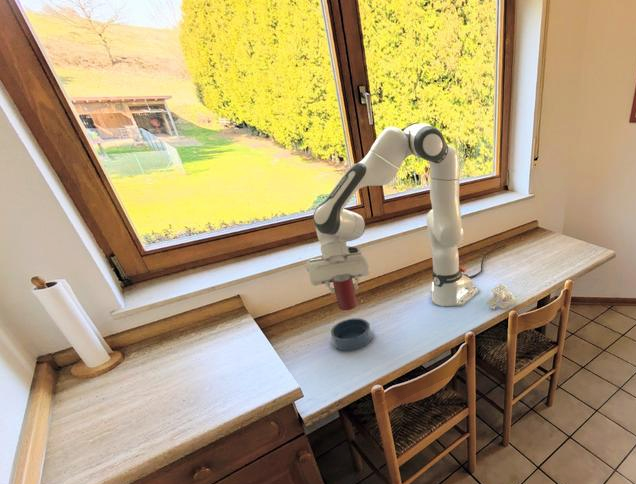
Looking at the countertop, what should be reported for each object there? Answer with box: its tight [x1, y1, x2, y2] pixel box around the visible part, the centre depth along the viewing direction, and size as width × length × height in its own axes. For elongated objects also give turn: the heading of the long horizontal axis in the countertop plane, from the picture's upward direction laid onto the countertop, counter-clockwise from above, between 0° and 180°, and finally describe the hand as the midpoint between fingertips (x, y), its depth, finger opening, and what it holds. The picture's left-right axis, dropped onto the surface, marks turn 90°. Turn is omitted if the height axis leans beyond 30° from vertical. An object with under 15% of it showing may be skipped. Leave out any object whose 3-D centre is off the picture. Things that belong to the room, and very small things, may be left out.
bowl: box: [330, 318, 373, 352], centre depth 133 cm, size 14×14×6 cm
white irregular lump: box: [485, 283, 518, 310], centre depth 155 cm, size 12×9×10 cm
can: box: [332, 274, 358, 311], centre depth 127 cm, size 6×6×12 cm
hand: (345, 291), depth 126 cm, fingers closed on can, 6 cm apart
